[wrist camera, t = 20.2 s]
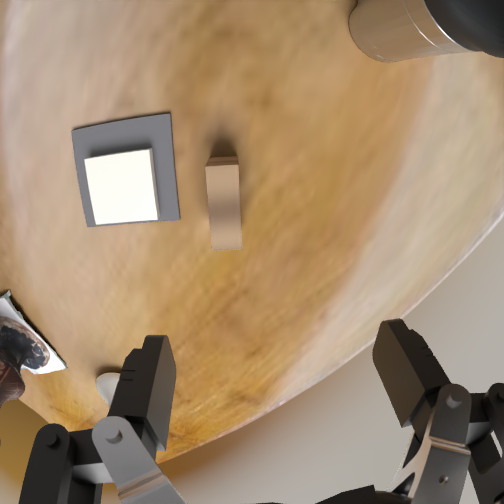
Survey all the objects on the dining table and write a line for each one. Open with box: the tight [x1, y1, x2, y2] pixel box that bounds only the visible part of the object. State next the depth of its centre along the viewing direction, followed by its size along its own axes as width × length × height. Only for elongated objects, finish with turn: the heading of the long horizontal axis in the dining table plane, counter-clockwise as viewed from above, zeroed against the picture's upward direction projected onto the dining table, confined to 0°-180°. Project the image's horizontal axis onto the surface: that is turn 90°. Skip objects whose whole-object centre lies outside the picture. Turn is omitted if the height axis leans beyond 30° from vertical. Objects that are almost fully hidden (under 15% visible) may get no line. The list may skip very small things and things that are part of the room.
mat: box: [71, 113, 180, 227], centre depth 36 cm, size 14×14×1 cm
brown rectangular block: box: [205, 156, 242, 251], centre depth 36 cm, size 10×4×6 cm, turn 2°
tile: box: [84, 148, 160, 225], centre depth 36 cm, size 2×9×9 cm
